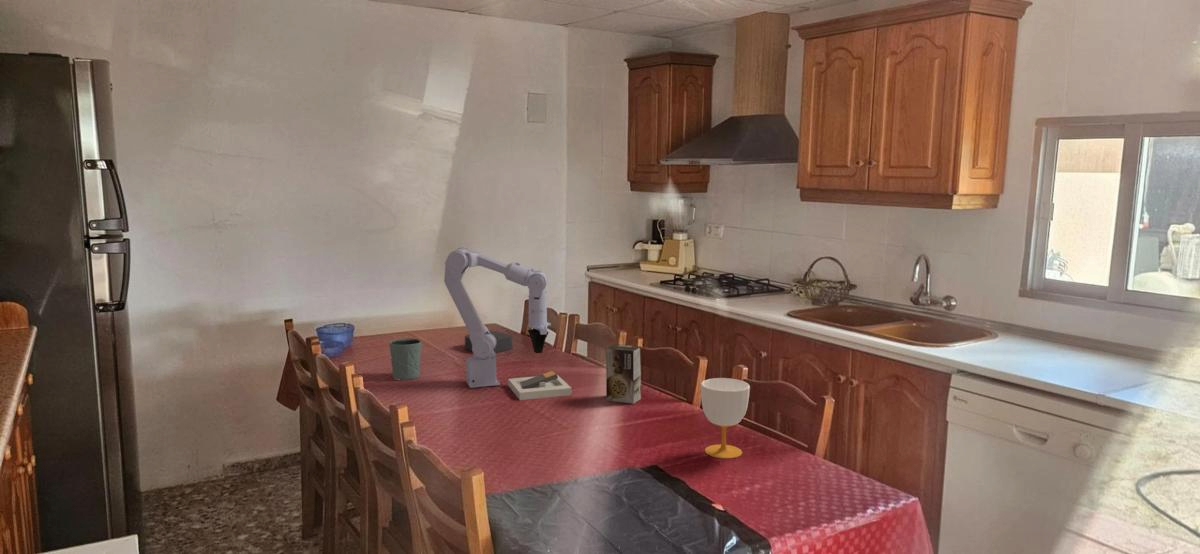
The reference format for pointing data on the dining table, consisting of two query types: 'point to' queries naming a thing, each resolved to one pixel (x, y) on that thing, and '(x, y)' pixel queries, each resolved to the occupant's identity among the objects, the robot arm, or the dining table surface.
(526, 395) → the breaker housing
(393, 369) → the green plant pot
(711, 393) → the cup
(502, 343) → the streaming box
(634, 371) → the coffee box
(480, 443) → the dining table surface
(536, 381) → the rocker
